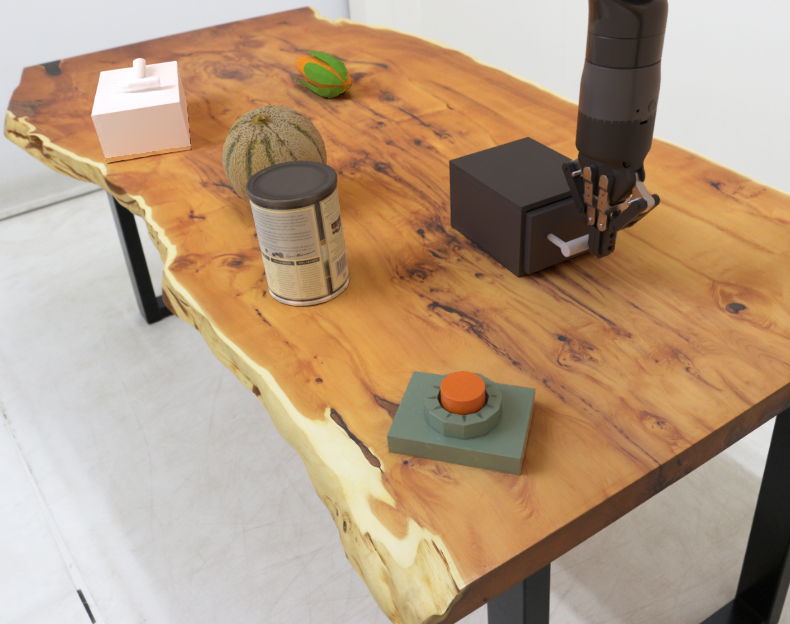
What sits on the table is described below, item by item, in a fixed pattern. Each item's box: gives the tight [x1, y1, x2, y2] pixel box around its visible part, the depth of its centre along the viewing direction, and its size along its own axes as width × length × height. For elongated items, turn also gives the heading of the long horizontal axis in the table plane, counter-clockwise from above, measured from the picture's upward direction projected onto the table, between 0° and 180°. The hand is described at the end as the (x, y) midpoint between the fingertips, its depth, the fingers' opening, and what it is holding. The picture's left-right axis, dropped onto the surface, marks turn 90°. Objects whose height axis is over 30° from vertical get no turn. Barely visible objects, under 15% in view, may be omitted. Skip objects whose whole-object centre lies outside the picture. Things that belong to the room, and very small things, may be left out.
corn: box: [293, 49, 353, 99], centre depth 144 cm, size 7×8×20 cm
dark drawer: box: [523, 192, 618, 275], centre depth 88 cm, size 19×11×8 cm, turn 28°
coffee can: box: [246, 161, 351, 307], centre depth 84 cm, size 10×10×14 cm
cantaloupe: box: [221, 104, 328, 205], centre depth 102 cm, size 15×15×15 cm
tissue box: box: [90, 57, 192, 159], centre depth 131 cm, size 14×25×11 cm, turn 15°
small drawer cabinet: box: [448, 136, 584, 278], centre depth 91 cm, size 16×13×10 cm
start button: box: [440, 370, 485, 415], centre depth 64 cm, size 4×4×2 cm
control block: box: [386, 370, 537, 476], centre depth 66 cm, size 12×9×4 cm
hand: (600, 254), depth 81 cm, fingers closed
